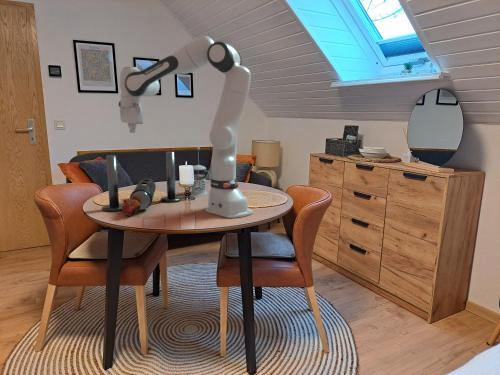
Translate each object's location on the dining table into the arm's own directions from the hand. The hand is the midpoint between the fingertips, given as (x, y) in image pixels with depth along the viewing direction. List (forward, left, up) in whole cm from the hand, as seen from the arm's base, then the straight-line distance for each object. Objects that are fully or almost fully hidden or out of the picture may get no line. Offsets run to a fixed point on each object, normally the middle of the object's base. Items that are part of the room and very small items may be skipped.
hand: (132, 132), depth 171 cm
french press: (-5, -34, -33) cm, 48 cm away
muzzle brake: (-11, 0, -33) cm, 35 cm away
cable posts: (-11, 0, -33) cm, 35 cm away
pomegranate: (-25, +11, -33) cm, 43 cm away
